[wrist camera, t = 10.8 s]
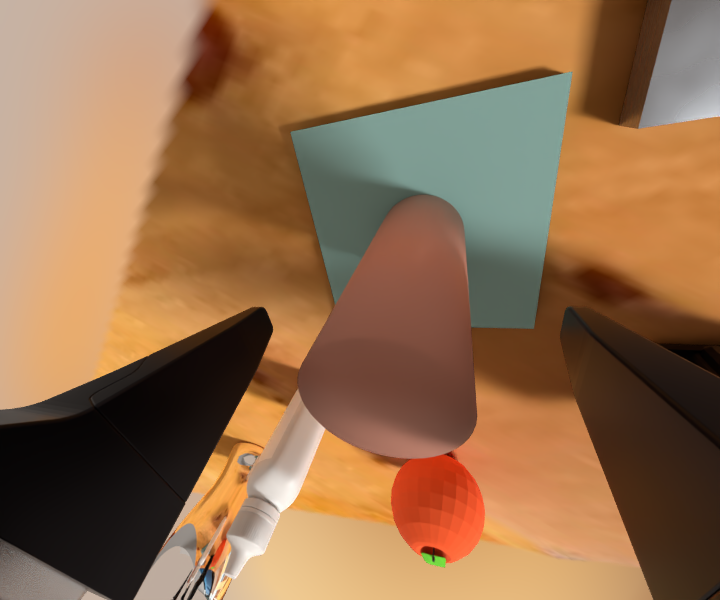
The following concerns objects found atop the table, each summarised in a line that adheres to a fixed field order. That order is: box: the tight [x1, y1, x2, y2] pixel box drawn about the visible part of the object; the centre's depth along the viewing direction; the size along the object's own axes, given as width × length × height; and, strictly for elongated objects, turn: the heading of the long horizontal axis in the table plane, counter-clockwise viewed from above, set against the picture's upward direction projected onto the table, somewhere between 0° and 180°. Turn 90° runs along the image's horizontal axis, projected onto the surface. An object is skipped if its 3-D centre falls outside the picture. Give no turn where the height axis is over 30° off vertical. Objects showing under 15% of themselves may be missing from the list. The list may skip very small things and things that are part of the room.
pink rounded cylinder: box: [298, 195, 477, 459], centre depth 11 cm, size 4×4×10 cm
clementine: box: [391, 454, 485, 567], centre depth 23 cm, size 8×7×7 cm
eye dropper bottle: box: [224, 389, 325, 579], centre depth 21 cm, size 4×6×12 cm
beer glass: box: [134, 442, 264, 600], centre depth 29 cm, size 7×7×15 cm
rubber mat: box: [290, 72, 572, 329], centre depth 15 cm, size 11×11×1 cm
